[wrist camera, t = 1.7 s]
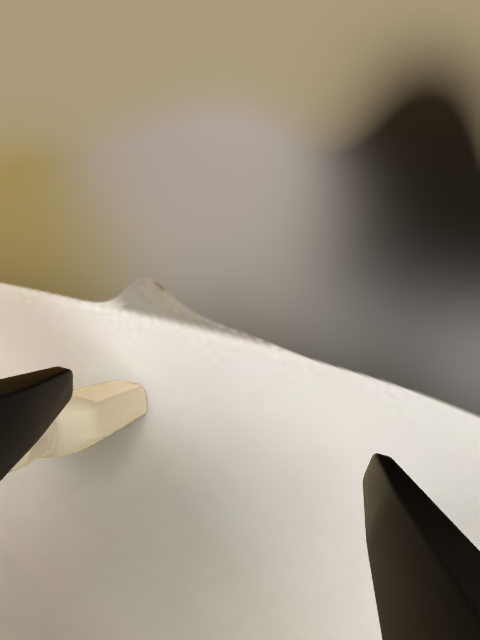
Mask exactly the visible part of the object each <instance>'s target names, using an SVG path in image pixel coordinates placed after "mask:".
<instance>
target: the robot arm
mask: <svg viewBox="0 0 480 640" xmlns="http://www.w3.org/2000/svg"><path fill="white" fill-rule="evenodd" d="M72 394H73V373H72V371H71V370H70V369H66V368H63V367H53V368H48V369H44V370H39V371H35V372H30V373H26V374H22V375H17V376H13V377H8V378H4V379H0V481H1V480H2V479H3V478H4V477H5V475H6V474H7V473H8V472H9V471H10V470H11V469H12V468H13V467H14V466H15V465H16V464H17V463H18V462H19V461H20V460H21V459H22V458H23V457H24V456H25V454H26V453H27V452H28V451H29V450H30V449H31V448H32V447H33V446H34V445H35V444H36V443H37V441H38V440H39V439H40V438H41V437H42V435H43V434H44V433H45V432H46V430H47V429H48V428H49V427H50V425H51V424H52V423H53V421H54V420H55V419H56V418H57V416H58V415H59V414H60V413H61V411H62V410H63V409H64V407H65V406H66V405H67V404H68V402H69V401H70V399H71V397H72ZM363 494H364V511H365V528H366V541H367V549H368V555H369V561H370V567H371V573H372V579H373V585H374V591H375V597H376V604H377V610H378V616H379V622H380V628H381V634H382V640H480V551H479V550H478V549H477V548H476V547H475V546H474V545H473V544H472V542H471V541H470V540H469V539H468V538H467V537H466V536H465V535H464V534H463V533H462V532H461V531H460V530H459V529H458V528H457V527H456V526H455V525H454V523H453V522H452V521H451V520H450V519H449V518H448V517H447V516H446V515H445V514H444V513H443V512H442V511H441V510H440V509H439V508H438V507H437V505H436V504H435V503H434V502H433V501H432V500H431V499H430V498H429V497H428V496H427V495H426V494H425V493H424V492H423V491H422V490H421V489H420V488H419V486H418V485H417V484H416V483H415V482H414V481H413V480H412V479H411V478H410V477H409V476H408V475H407V474H406V473H405V472H404V471H403V470H402V468H401V467H400V466H399V465H398V464H397V463H396V462H395V461H394V460H393V459H392V458H391V457H389V456H385V455H382V454H378V453H376V454H374V455H373V456H372V458H371V460H370V463H369V465H368V468H367V470H366V472H365V475H364V478H363Z"/></svg>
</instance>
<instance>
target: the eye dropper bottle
mask: <svg viewBox="0 0 480 640" xmlns="http://www.w3.org/2000/svg"><path fill="white" fill-rule="evenodd" d="M146 410H147V402H146V393H145V389H144V387H143V386H141V385H139V384H136V383H132V382H127V381H110V382H104V383H100V384H96V385H93V386H89V387H85V388H81V389H77V390H74V391H73V394H72V397H71V399H70V401H69V402H68V404H67V405H66V406H65V407H64V409H63V410H62V411H61V413H60V414H59V415H58V416H57V418H56V419H55V420H54V421H53V423H52V424H51V425H50V427H49V428H48V429H47V430H46V432H45V433H44V434H43V435H42V437H41V438H40V439H39V440H38V441H37V443H36V444H35V445H34V446H33V447H32V448H31V449H30V450H29V451H28V452H27V453H26V454H25V456H24V457H23V458H22V459H21V460H20V461H19V462H18V463H17V464H16V465H15V466H14V467H13V468H12V469H11V470H10V471H15V470H18V469H20V468H22V467H24V466H26V465H28V464H29V463H31V462H33V461H35V460H37V459H39V458H57V457H62V456H67V455H70V454H73V453H76V452H79V451H81V450H83V449H85V448H87V447H89V446H91V445H93V444H95V443H97V442H98V441H100V440H102V439H104V438H106V437H107V436H109V435H111V434H112V433H114V432H116V431H117V430H119V429H121V428H122V427H124V426H126V425H127V424H129V423H131V422H132V421H134V420H136V419H137V418H139V417H141V416H142V415H144V413H145V412H146Z"/></svg>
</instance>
